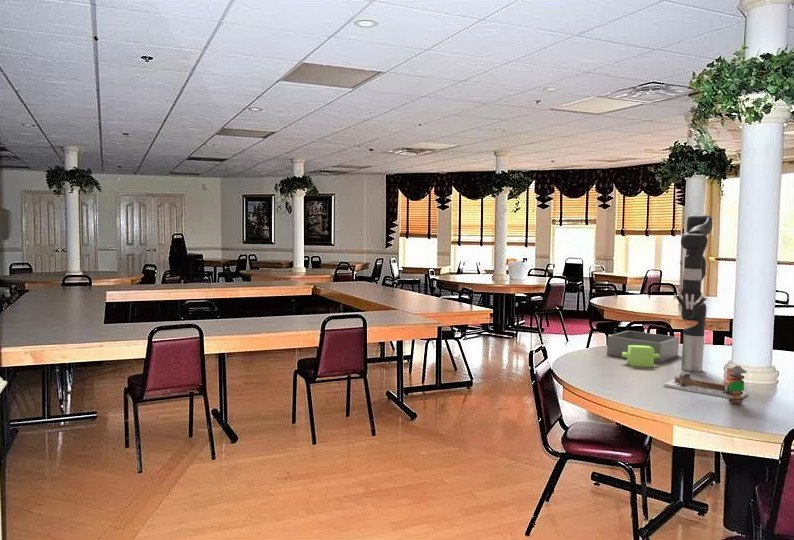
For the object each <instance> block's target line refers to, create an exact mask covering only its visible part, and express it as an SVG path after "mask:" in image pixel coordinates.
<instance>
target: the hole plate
mask: <svg viewBox="0 0 794 540" xmlns="http://www.w3.org/2000/svg"><path fill="white" fill-rule="evenodd" d="M663 387H664V388H665V387H666V388H670V389H677V390H681V391H687V392H692V393H698V394H703V395H709V396H713V397H720V398H725V399H732V395H730V393H731V394H732V391H727V392H725V390H720V389H715V388H709V387H703V386H698V385H692V384H686V383H682V385H680V382H675V378H673V379H671V380H669V381H667V382H664V383H663ZM742 392H743V394H742V395H740V396H741V397H742V398H743V399H744V398H746V397H747V396H748V395H749V393H748V391H745V390H744V391H742ZM740 394H741V393H740ZM741 397H740V399H741Z"/></svg>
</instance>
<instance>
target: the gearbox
mask: <svg viewBox="0 0 794 540" xmlns="http://www.w3.org/2000/svg"><path fill="white" fill-rule="evenodd" d="M622 356H623V357H622V358H627V361H626V362H627V364H629V366H631V367H641V368H642V367H643V368H644V367H645V368H651V367H654V363H655V362H654V358H659V357H660V355H659V354H654V348H652V347H650V346H641V345H628V352H622Z"/></svg>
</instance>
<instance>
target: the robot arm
mask: <svg viewBox="0 0 794 540" xmlns="http://www.w3.org/2000/svg"><path fill="white" fill-rule="evenodd" d="M712 229H713V218H712V216H710V215H706V214H690V215H689V216H688V217H687V220H686V232H685V233H684V234H683V235H682V237H681V240H680V244H681V247H682V248H683V249H684V250H686V252H685V256H684V266H683V272H682V273H683V274H682V285H681V286H682V288H681V289H682V290H681V292H680V294H678V295H675V298H676V300H677V301H678V302H679V304H680V306H681V310H680V311H681V314H680V315H681V318H682V320H683V321H691V322H697V323H696V324H694V325H692V326H687V327H685V328H684V329H683V334H682V335H683V338H682V350H681V351H682V353H681V354H682V355H681V370H683V371H686V372H687V371H688V372H693V373H694V372H697V373H698V372H702V371H703V366H704V365H703V363H704V361H703V360H704V346H705V327H706V326H705V325H706V320H707V319H706V318H707V304H706V303H705V302H706V301H707V299H708V298H707V297H705V296H703V294H702V281H703V279H705V277H706V271H707V261H706V258H705V256H704V253H705V250H706V248H707V246H708V242H709V241H708V237H707V236H709V234H711V232H712ZM698 300H699V301H698Z"/></svg>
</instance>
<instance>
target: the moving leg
mask: <svg viewBox="0 0 794 540" xmlns="http://www.w3.org/2000/svg"><path fill="white" fill-rule="evenodd" d="M731 368H733V367H732V366H728V367H726V378H725V379H724V382H723V384H725V392H727V386H729V385H730V383H733V380H731V378H733V377H732V376H730V375H731V374H734V373H733V372H730V371H729V369H731Z"/></svg>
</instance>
